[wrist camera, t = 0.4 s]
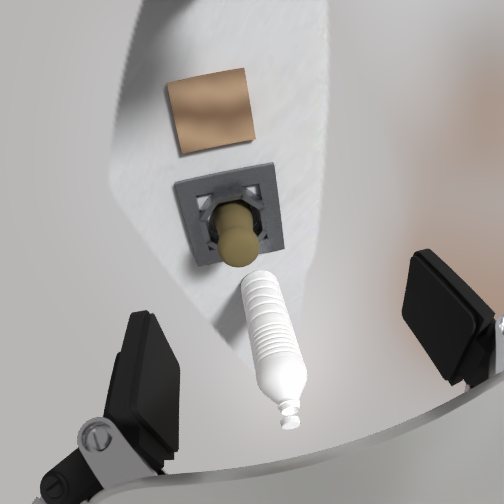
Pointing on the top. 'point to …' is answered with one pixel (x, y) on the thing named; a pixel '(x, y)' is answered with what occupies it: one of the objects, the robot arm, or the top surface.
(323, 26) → the top surface
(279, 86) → the top surface
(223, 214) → the cork
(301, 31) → the top surface
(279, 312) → the water bottle
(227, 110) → the coaster board
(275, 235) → the grey octagonal holder
